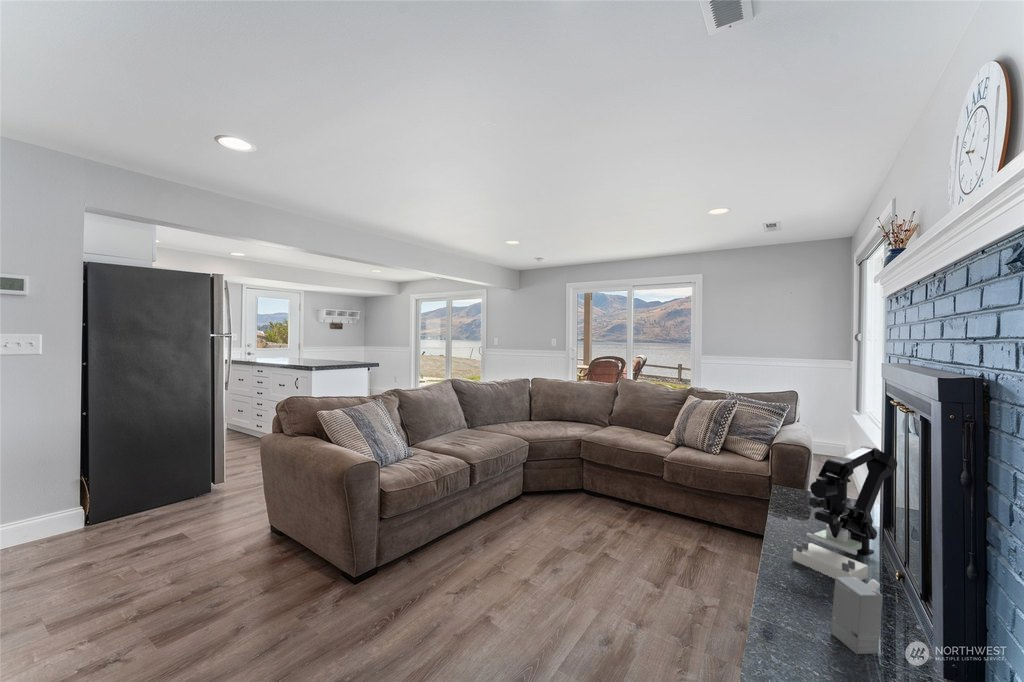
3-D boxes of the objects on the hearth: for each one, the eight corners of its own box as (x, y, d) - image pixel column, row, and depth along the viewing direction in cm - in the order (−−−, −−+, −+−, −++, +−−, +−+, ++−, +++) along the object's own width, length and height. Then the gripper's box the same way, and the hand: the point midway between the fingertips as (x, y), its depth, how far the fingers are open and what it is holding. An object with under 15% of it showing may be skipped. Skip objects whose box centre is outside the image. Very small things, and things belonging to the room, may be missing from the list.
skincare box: (830, 633, 118) (830, 575, 118) (854, 632, 119) (854, 574, 118) (857, 656, 110) (857, 594, 109) (883, 654, 110) (883, 592, 110)
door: (819, 532, 168) (819, 517, 168) (868, 550, 154) (868, 534, 154) (806, 537, 164) (806, 521, 164) (855, 556, 150) (855, 539, 150)
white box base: (810, 553, 162) (810, 536, 161) (867, 577, 145) (868, 559, 145) (793, 560, 157) (793, 543, 157) (850, 585, 141) (850, 566, 140)
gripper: (827, 484, 171) (827, 523, 171) (799, 491, 162) (799, 532, 162) (860, 493, 161) (860, 534, 161) (832, 501, 152) (831, 545, 152)
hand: (836, 536), depth 159 cm, fingers closed on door, 2 cm apart
